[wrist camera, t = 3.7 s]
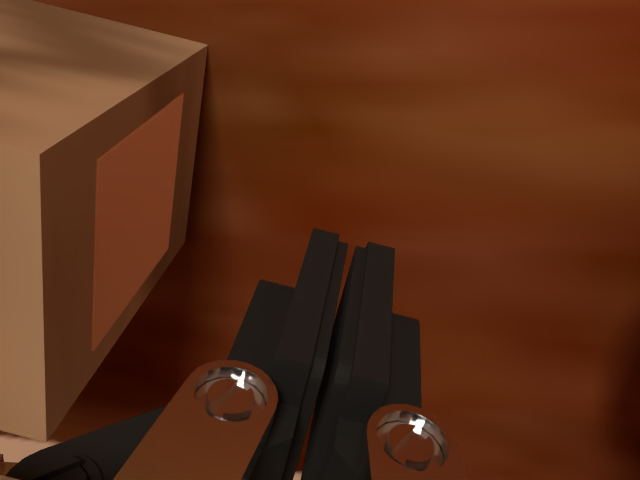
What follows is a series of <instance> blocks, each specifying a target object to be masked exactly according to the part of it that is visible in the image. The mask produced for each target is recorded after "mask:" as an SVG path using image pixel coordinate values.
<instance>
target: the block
mask: <svg viewBox="0 0 640 480" xmlns="http://www.w3.org/2000/svg"><path fill="white" fill-rule="evenodd" d="M207 49H208V45H206V44H203V43H199V42H195V41H191V40H187V39H183V38H179V37H175V36H171V35H167V34H163V33H159V32H155V31H151V30H147V29H143V28H139V27H135V26H131V25H127V24H123V23H120V22H116V21H112V20H108V19H104V18H100V17H96V16H92V15H88V14H84V13H80V12H76V11H72V10H68V9H64V8H60V7H56V6H52V5H48V4H44V3H41V2H37V1H33V0H0V430H1V431H5V432H9V433H13V434H16V435H20V436H24V437H28V438H31V439H35V440H39V441H43V442H47V441H48V439H49V438H50V437H51V435H52V434H53V432H54V431H55V429H56V428H57V426H58V425H59V424H60V422H61V421H62V419H63V418H64V416H65V415H66V413H67V412H68V411H69V409H70V408H71V406H72V405H73V403H74V402H75V400H76V399H77V397H78V396H79V395H80V393H81V392H82V390H83V389H84V387H85V386H86V384H87V383H88V382H89V380H90V379H91V377H92V376H93V374H94V373H95V371H96V370H97V369H98V367H99V366H100V364H101V363H102V361H103V360H104V358H105V357H106V356H107V354H108V353H109V351H110V350H111V348H112V347H113V345H114V344H115V343H116V341H117V340H118V338H119V337H120V335H121V334H122V332H123V331H124V329H125V328H126V327H127V325H128V324H129V322H130V321H131V319H132V318H133V316H134V315H135V314H136V312H137V311H138V309H139V308H140V306H141V305H142V303H143V302H144V301H145V299H146V298H147V296H148V295H149V293H150V292H151V290H152V289H153V288H154V286H155V285H156V283H157V282H158V280H159V279H160V277H161V276H162V274H163V273H164V272H165V270H166V269H167V267H168V266H169V264H170V263H171V261H172V260H173V259H174V257H175V256H176V254H177V253H178V251H179V250H180V248H181V247H182V246H183V244H184V243H185V238H186V229H187V220H188V212H189V203H190V195H191V186H192V178H193V169H194V160H195V152H196V143H197V135H198V126H199V118H200V109H201V100H202V92H203V83H204V75H205V66H206V58H207Z"/></svg>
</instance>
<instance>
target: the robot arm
mask: <svg viewBox="0 0 640 480" xmlns="http://www.w3.org/2000/svg"><path fill="white" fill-rule="evenodd" d="M338 240H339V234H336V233H332V232H328V231H324V230H320V229H316V228H314V229H313V232H312V235H311V238H310V242H309V245H308V248H307V251H306V255H305V258H304V261H303V265H302V268H301V271H300V274H299V278H298V281H297V284H296V288H292V287H288V286H284V285H281V284H277V283H273V282H269V281H265V280H260V281H259V283H258V285H257V288H256V290H255V293H254V295H253V298H252V300H251V302H250V305H249V307H248V310H247V312H246V315H245V317H244V320H243V322H242V325H241V327H240V329H239V332H238V334H237V337H236V339H235V342H234V344H233V347H232V349H231V351H230V354H229V356H228V359H227V360H219V361H214V362H209V363H207V364H205V365H203V366H200V367H198V368H197V369H196V370H195V371H194V372H193V373H191V374H190V375H189V376H188V378H187V379H186V380H185V382H184V383H183V385H182V386H181V387H180V389H179V390H178V391H177V393H176V394H175V396H174V397H173V398H172V400H171V401H170V402H169V404H168V405H166V406H164V407H161V408H158V409H155V410H152V411H150V412H147V413H144V414H141V415H138V416H135V417H133V418H130V419H127V420H124V421H121V422H118V423H116V424H113V425H110V426H107V427H104V428H102V429H99V430H96V431H93V432H90V433H87V434H85V435H82V436H79V437H76V438H73V439H70V440H68V441H65V442H62V443H59V444H56V445H54V446H51V447H48V448H45V449H42V450H40V451H38V452H36V453H34V454H32V455H29V456H28V457H25V458H24V459H22V460H21V461H20V462H19V463H16V462H4V460H3V454H0V480H293V477H294V474H295V470H296V467H297V464H298V460H299V457H300V453H301V450H302V446H303V443H304V439H305V436H306V433H307V429H308V426H309V422H310V419H311V415H312V412H313V409H314V413H313V419H312V424H311V429H310V434H309V439H308V445H307V450H306V455H305V460H304V465H303V471H302V476H301V480H467V478H466V474H465V470H464V467H463V463H462V459H461V455H460V452H459V448H458V445H457V442H456V440H455V438H454V436H453V434H452V432H451V431H450V430H449V429H448V427H447V426H446V425H445V424H444V423H443V422H442V421H441V420H439V419H438V418H437V417H436V416H434V415H433V414H431V413H429V412H427V411H425V410H423V409H421V366H420V326H419V321H418V320H417V319H413V318H409V317H406V316H402V315H398V314H394V313H392V302H393V279H394V257H395V249H394V248H391V247H387V246H383V245H379V244H375V243H371V242H368V243H367V246H366V248H362V247H358V246H356V248H355V251H354V255H353V258H352V262H351V265H350V269H349V272H348V276H347V279H346V283H345V286H344V290H343V293H342V297H341V300H340V304H339V307H338V311H337V314H336V318H335V312H336V307H337V302H338V296H339V291H340V285H341V280H342V275H343V269H344V264H345V258H346V253H347V248H348V244H347V243H343V242H339V241H338ZM334 318H335V321H334ZM333 323H334V325H333ZM315 402H316V403H315ZM314 405H315V408H314Z"/></svg>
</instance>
